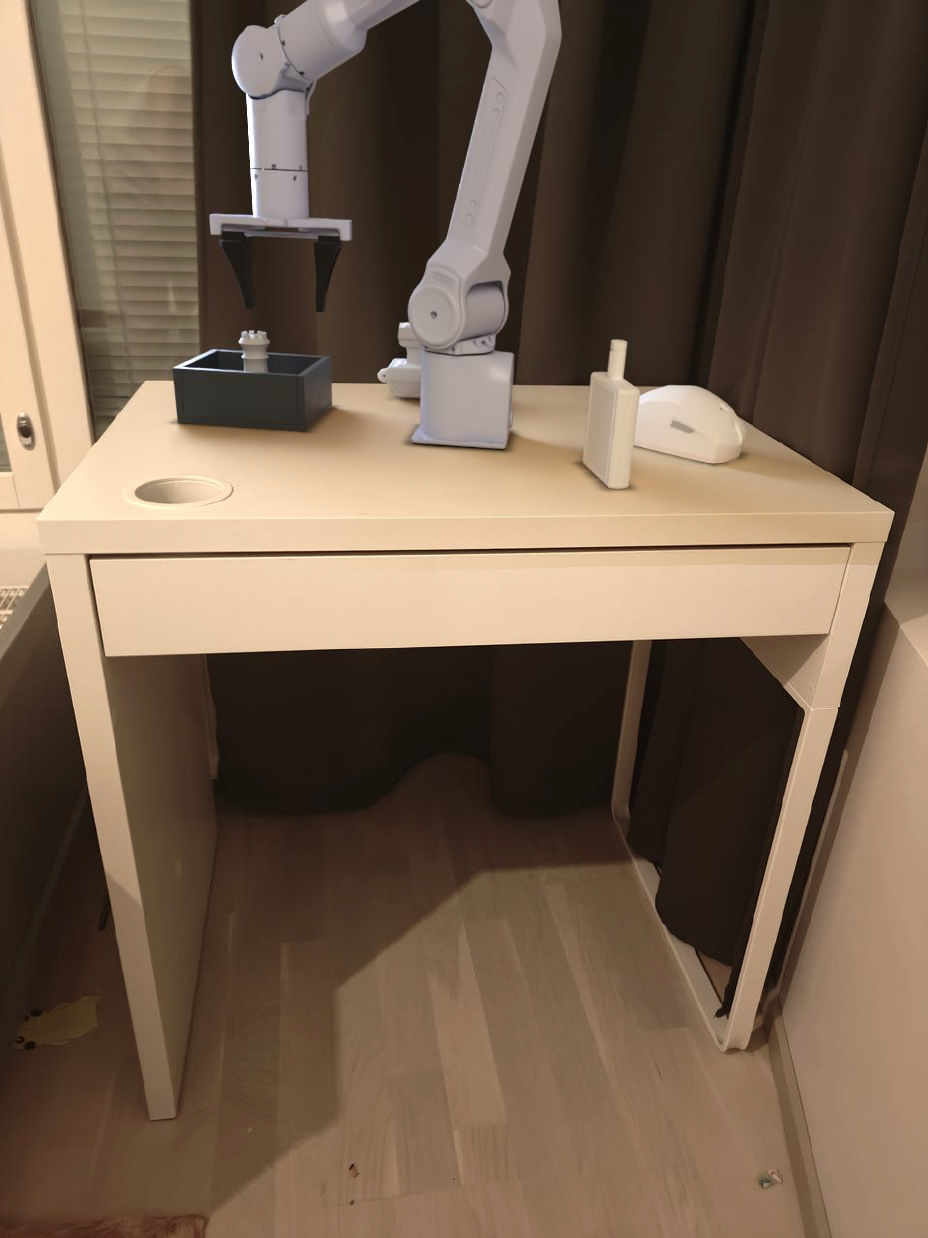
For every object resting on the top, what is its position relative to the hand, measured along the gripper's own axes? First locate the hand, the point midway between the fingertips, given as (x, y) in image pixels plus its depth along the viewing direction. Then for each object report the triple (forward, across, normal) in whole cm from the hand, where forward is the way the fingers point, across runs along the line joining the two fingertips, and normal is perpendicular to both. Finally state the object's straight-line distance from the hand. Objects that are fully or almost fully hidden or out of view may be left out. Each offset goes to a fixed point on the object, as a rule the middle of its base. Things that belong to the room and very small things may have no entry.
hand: (285, 309), depth 99 cm
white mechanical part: (+11, +14, +8) cm, 19 cm away
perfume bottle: (+11, +33, -22) cm, 41 cm away
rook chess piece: (+10, -2, -5) cm, 11 cm away
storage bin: (+10, -2, -5) cm, 12 cm away
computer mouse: (+11, +42, -11) cm, 45 cm away
